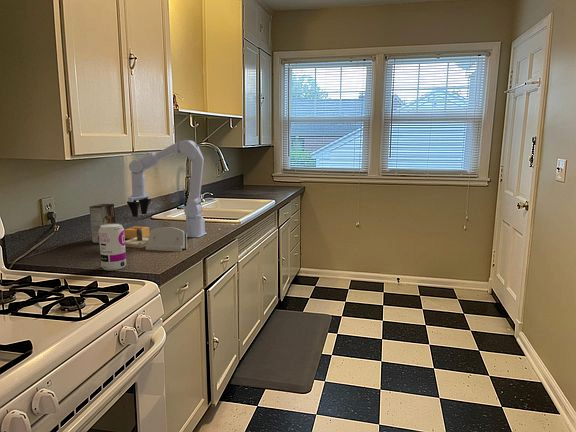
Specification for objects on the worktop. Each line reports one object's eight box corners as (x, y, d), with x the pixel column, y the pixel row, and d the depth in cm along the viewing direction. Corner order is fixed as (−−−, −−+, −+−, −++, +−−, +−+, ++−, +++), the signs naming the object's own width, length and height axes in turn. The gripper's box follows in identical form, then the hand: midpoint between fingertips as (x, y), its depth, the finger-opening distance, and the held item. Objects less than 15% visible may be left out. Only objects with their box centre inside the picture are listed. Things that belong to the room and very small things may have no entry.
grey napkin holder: (144, 249, 180) (147, 225, 182) (150, 250, 185) (153, 227, 186) (182, 251, 176) (184, 226, 178) (187, 252, 181) (189, 228, 183)
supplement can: (129, 264, 158) (127, 223, 156) (121, 270, 150) (118, 227, 148) (106, 264, 158) (103, 223, 156) (97, 271, 150) (94, 227, 148)
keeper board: (138, 239, 199) (138, 226, 197) (158, 240, 196) (158, 226, 195) (120, 246, 185) (119, 232, 184) (141, 247, 183) (140, 233, 182)
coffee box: (104, 238, 202) (101, 203, 199) (117, 238, 201) (114, 203, 198) (91, 242, 193) (89, 206, 191) (105, 243, 192) (102, 206, 189)
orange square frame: (134, 234, 209) (134, 226, 208) (149, 235, 207) (149, 227, 206) (124, 238, 201) (123, 229, 201) (140, 239, 199) (139, 230, 199)
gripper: (139, 184, 211) (140, 212, 213) (121, 187, 197) (122, 217, 199) (152, 185, 209) (153, 213, 212) (135, 188, 195) (136, 218, 198)
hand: (139, 215), depth 205 cm, fingers open, 7 cm apart
